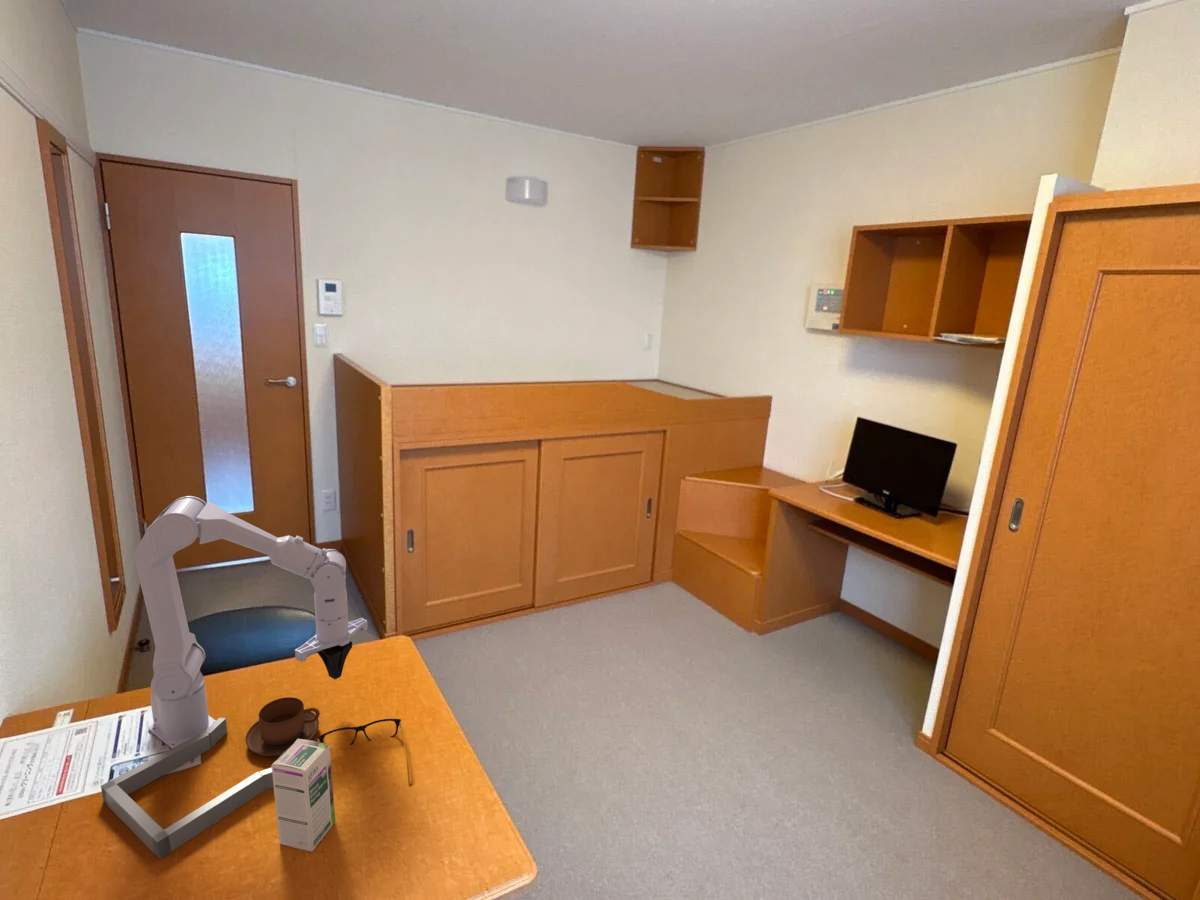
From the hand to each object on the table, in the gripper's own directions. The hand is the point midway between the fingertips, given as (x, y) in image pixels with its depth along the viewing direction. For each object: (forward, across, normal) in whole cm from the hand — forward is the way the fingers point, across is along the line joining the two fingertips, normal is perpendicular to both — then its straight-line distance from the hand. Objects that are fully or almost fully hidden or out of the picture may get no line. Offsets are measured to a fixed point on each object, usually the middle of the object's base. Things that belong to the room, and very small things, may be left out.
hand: (335, 676), depth 121 cm
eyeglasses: (+8, -8, -18) cm, 20 cm away
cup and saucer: (+7, -11, 0) cm, 13 cm away
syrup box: (+7, -21, -22) cm, 31 cm away
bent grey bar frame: (+7, -26, 0) cm, 27 cm away
